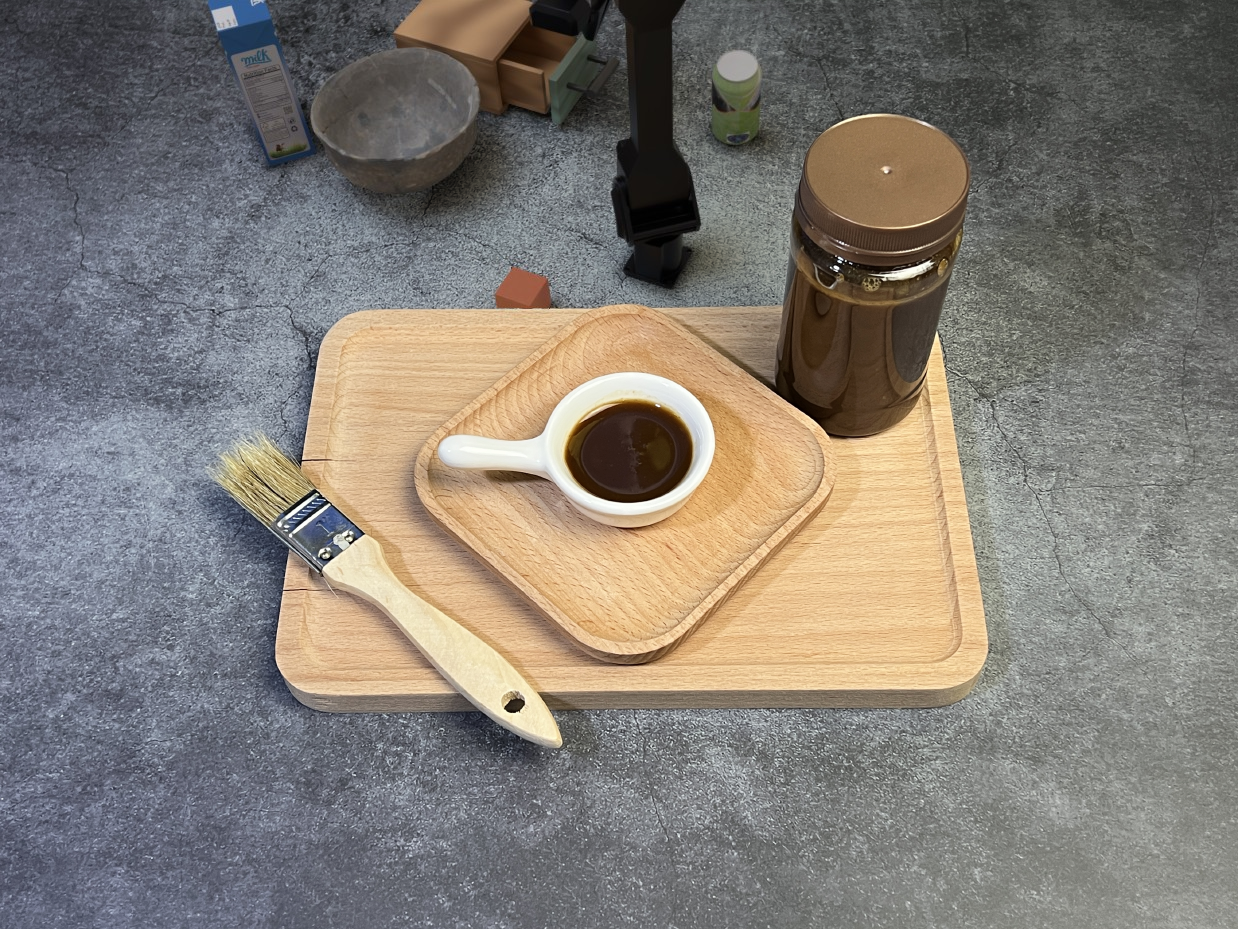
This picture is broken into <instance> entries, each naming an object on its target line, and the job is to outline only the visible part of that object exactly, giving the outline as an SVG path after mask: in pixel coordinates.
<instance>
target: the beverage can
mask: <svg viewBox="0 0 1238 929" xmlns="http://www.w3.org/2000/svg"><path fill="white" fill-rule="evenodd" d="M762 82H763V70H762V67H761V65H760V62H758V59H757V58H756V56H755V55H754V54H753V53H752V52H750V51H747V50H744V49H733V50H728V51H726V52H725V53H723V54H721V56H719V58H718V59H717V61H716V63H715V65H714V66H713V69H712V72H711V131H712V133H713V135H714V137H715V138H716V139H717V140H718V141H720V142H721V143H724V144H727V145H732V146H733V145H734V146H736V145H738V146H739V145H742V144H746V143H748V142H750V141H751V140H753V139H754V137H755V136H757V133H758V131H759V129H760V128H759V127H760V113H761V98H762V86H763V84H762Z"/></svg>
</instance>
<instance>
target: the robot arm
mask: <svg viewBox="0 0 1238 929" xmlns="http://www.w3.org/2000/svg"><path fill="white" fill-rule="evenodd" d="M613 1H614V3H615V5H616V7H617V9H618V11H619V12H620V14H621V16H622V17H623V18H624V25H625V26H624V28H625V30H624V31H625V49H626V71H627V91H628V92H627V93H628V112H629V113H628V114H629V137H627V138H623V139H619V140H617V144H616V146H615V152H616V153H615V154H616V176H614V177H613V179H612V183H611V188H612V189H611V191H610V198H611V203H612V208H613V214H614V219H615V226H616V228H615V229H616V230H615V231H616V236H617V238H620V239H623V240H624V242H626V244H627V248H631V247H633V251H632V253H631V254H630V256H629V258H628V260H627V261H626V263H625V265H624V266H623V267H622V272H623V274H624V275H625V276H630V277H632V278H636V279H639V280H641V281H645V282H648V283H651V284H654V285H657V286H659V287H663V288H666V289H670V290H672V289H673V288H674V287H675V286H676V284H677V283H678V281H679V280H680V278H681V276H682V274H683V272H684V271H685V268H686V267H687V265H688V263H689V262H690V260H691V259H692V257H693V254H694V250H693V249H692V248H691V247H688V246H685V245H684V234H685V235H686V234H689V233H693V232H694V233H697V232H700V229H701V228H702V220H701V215H700V214H701V213H700V210H699V204H698V199H697V195H696V189H695V185H694V180H693V174H692V171H691V167H690V165H689V164H688V162H687V161H686V159H685V158H684V156H683V154H682V151H681V150H680V148H679V146H678V144H677V142H676V140H675V139H674V80H673V79H674V77H673V76H674V75H673V74H674V73H673V72H674V71H673V70H674V69H673V64H674V63H673V22H674V20H675V19H676V17H677V16H678V14H679V13H680V11H681V9H682V7H683V6H684V5H685V3H686V2H687V0H534V1H532V2H533V4H532V5H531V6H530V7H529V14H530V22H531V24H532V26H534V27H538V28H542V29H545V30H549V31H552V32H556V33H560V34H563V35H567V36H570V37H573V36H577V37H578V36H579V35H580V34H582V33H583V35H584V37H585V39H586V40H589V41H593V40H594V39H595V38H596V39H597V36H598V33H599V31H600V29H601V26H602V24H603V22H604V20H605V17H606V15H607V14H608V13H607V12H608V11H609V8H610V6H611V4H612V2H613Z"/></svg>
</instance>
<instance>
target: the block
mask: <svg viewBox="0 0 1238 929" xmlns="http://www.w3.org/2000/svg"><path fill="white" fill-rule="evenodd" d="M494 299H495V304H496V309H497V308H522V309H532V308H549V309H550V307H551V305H552V300H551V299H552V298H551V291H550V282H549V278H548V277H545V276H543V275H539V274H536V273H533V272H530V271H528V270H524V269H521V268H518V267H515V266H512V267H511V269H510V270H509V272H508V273H507V275H506V276H505V277H504V279H503V281H502V282H501V284H500V285H499V287H498V288H497V289H496V291H495V293H494Z"/></svg>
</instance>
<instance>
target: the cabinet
mask: <svg viewBox="0 0 1238 929" xmlns="http://www.w3.org/2000/svg"><path fill="white" fill-rule="evenodd" d="M533 2H534V1H529V0H421V1H419V3H418V4H417V5H416V6H415V7H414V9H413V10H412V11H411V12H410V13H409V14H408V15H407V16H406V18H405V19H404V20H403V21H402V22H401V23H400V24H399V25H398V27H397V28H396V29H395V30H394V31H393V36H394V42H395V46H396V49H400V48H415V47H418V48H427V49H430V50H434V51H438V52H441V53H444V54H447V55H449V56H450V57H452V58H453V59H455V60H457V61H459V62H460V63H462V64H463V65H464V66H466V67H467V68H468V70H469V71H470V73H471V74H472V75H473V76H474V78H475V79H476V81H477V83H478V88H479V90H480V96H481V103H480V109H479V111H484V112H488V113H491V114H494V115H498V116H502V114H503V113H504V112H505V111H506V109H507V108H508V107H509V106H510V104H509V103H506V102H502V100H501V93H500V86H499V79H498V72H497V65H496V62H497V60H498V59H499V58H500V57H501V55H502V54H503V53H504V52H505V50H506V49H507V48H508V47H509V45H510V44H511V43H512V42H513V40H514V39H515V38H516V37H517V35H518V34H519V33H520V32H521V30H522V29H523V28H524V27H525V25H526V24H527V23H528V21H529V20H530V14H529V7H530V6H531V5H532V4H533Z"/></svg>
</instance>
